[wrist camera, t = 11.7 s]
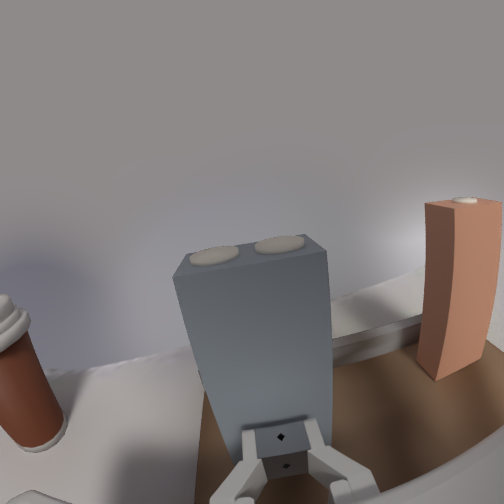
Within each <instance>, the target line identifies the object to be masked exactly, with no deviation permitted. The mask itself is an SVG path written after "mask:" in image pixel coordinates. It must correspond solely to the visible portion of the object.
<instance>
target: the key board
mask: <svg viewBox="0 0 504 504" xmlns="http://www.w3.org/2000/svg"><path fill="white" fill-rule="evenodd" d="M421 321H422V314H420V315H417V316H414V317H411V318H408V319H404V320H401V321H398V322H395V323H391V324H388V325H384V326H381V327H377V328H374V329H370V330H366V331H363V332H359V333H355V334H351V335H347V336H343V337H339V338H335V339H332V359H333V411H332V442H331V447H332V448H334V449H335V450H337V451H339V452H340V453H342V454H344V455H345V456H347V457H348V458H350V459H352V460H354V461H355V462H357V463H359V464H360V465H362V466H364V467H366V468H367V469H369V470H371V473H372V475H373V477H374V480H375V482H376V484H377V486H378V489H379V491H380V493H382V492H384V491H387V490H390V489H392V488H395V487H397V486H399V485H402V484H404V483H406V482H409V481H411V480H413V479H415V478H417V477H419V476H422V475H424V474H426V473H428V472H430V471H432V470H434V469H435V468H437V467H439V466H441V465H443V464H445V463H447V462H448V461H450V460H452V459H454V458H455V457H457V456H459V455H460V454H462V453H464V452H465V451H467V450H468V449H470V448H472V447H473V446H475V445H476V444H478V443H479V442H481V441H482V440H484V439H485V438H486V437H488V436H489V435H491V434H492V433H493V432H495V431H496V430H497V429H499V428H500V427H501V426H503V425H504V352H502V351H501V350H500V349H498V348H497V347H496V346H494V345H493V344H492V343H490V342H489V341H488V340H486V341H485V345H484V349H483V352H482V356H481V358H480V359H479V360H477V361H475V362H473V363H471V364H469V365H467V366H466V367H464V368H462V369H460V370H458V371H456V372H454V373H452V374H450V375H448V376H446V377H444V378H441V379H439V380H437V381H435V380H434V379H433V378H432V377H431V376H430V375H429V374H428V373H427V372H426V371H425V369H424V368H423V367H422V366H421V365H420V364H419V363H418V362H417V361H416V357H417V351H418V345H419V337H420V330H421ZM198 372H199V370H198ZM199 375H200V372H199ZM200 378H201V375H200ZM201 381H202V378H201ZM202 384H203V381H202ZM203 387H204V384H203ZM204 390H205V387H204ZM234 468H235V467H234V464H233V462H232V459H231V457H230V455H229V452H228V450H227V447H226V445H225V442H224V440H223V437H222V434H221V432H220V429H219V427H218V424H217V421H216V418H215V416H214V413H213V410H212V407H211V405H210V402H209V399H208V396H207V393H206V390H205V393H204V402H203V412H202V421H201V431H200V442H199V452H198V464H197V476H196V488H195V502H194V504H210V498H211V496H212V495H213V494H214V493H215V492H216V490H217V489H218V488H219V487H220V485H221V484H222V483H223V482H224V480H225V479H226V478H227V477H228V475H229V474H230V473H231V472H232V470H233V469H234ZM328 497H329V490H328V489H327V488H326V487H325V486H323V485H322V484H321V483H320V482H318V481H317V480H316V479H315V478H314V477H312V476H311V475H310V474H309V473H304V474H298V475H292V476H286V477H281V478H276V479H270V480H267V483H266V485H265V486H264V488H263V490H262V492H261V493H260V495H259V497H258V499H257V500H256V502H255V503H256V504H328Z"/></svg>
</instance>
